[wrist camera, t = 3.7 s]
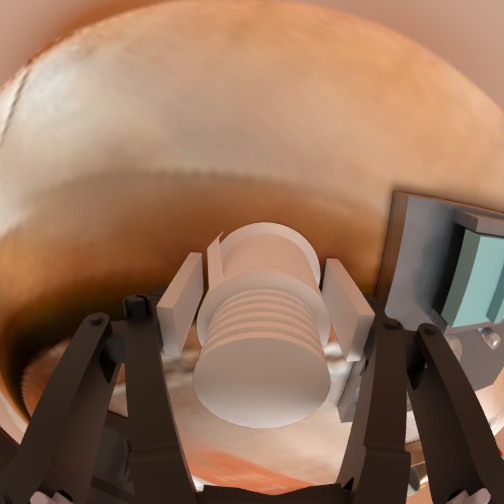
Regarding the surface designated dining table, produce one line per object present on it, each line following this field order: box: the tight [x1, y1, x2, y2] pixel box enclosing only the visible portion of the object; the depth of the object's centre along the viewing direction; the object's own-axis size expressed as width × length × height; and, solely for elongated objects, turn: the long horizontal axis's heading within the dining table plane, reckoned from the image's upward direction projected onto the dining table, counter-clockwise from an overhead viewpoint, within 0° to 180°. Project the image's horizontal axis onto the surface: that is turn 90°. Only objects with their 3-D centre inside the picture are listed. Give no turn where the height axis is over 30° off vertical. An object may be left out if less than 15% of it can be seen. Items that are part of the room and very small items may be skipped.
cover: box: [441, 229, 504, 327], centre depth 12 cm, size 8×6×2 cm
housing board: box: [337, 191, 504, 423], centre depth 16 cm, size 22×20×5 cm
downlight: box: [193, 222, 331, 428], centre depth 13 cm, size 8×7×10 cm
